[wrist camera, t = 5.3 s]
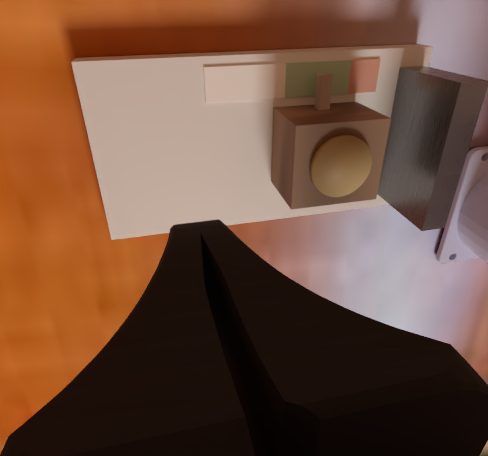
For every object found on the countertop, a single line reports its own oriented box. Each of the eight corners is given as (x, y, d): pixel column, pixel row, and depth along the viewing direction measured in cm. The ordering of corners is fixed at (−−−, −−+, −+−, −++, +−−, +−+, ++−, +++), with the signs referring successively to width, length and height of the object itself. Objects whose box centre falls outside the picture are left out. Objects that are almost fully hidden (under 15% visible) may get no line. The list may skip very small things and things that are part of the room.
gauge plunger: (360, 69, 17) (402, 82, 14) (346, 173, 20) (379, 201, 17) (273, 74, 16) (301, 89, 14) (271, 181, 19) (293, 212, 16)
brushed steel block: (423, 65, 18) (489, 80, 14) (396, 191, 21) (444, 227, 18) (399, 67, 17) (461, 82, 14) (376, 193, 21) (421, 230, 17)
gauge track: (417, 43, 18) (434, 46, 17) (387, 194, 22) (399, 204, 21) (76, 57, 15) (70, 62, 14) (113, 227, 20) (111, 241, 18)
